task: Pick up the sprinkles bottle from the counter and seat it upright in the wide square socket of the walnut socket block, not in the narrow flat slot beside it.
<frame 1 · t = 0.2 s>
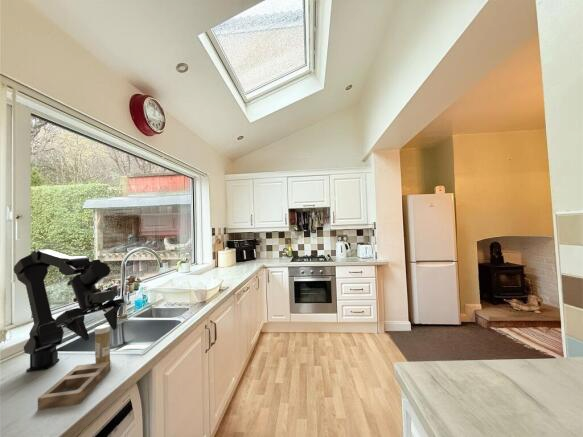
hand: (102, 334, 83), 14 cm above the countertop, tool tilted 30°, fingers open, 9 cm apart
socket block: (78, 387, 79), on the countertop
sprinkles bottle: (102, 364, 92), on the countertop
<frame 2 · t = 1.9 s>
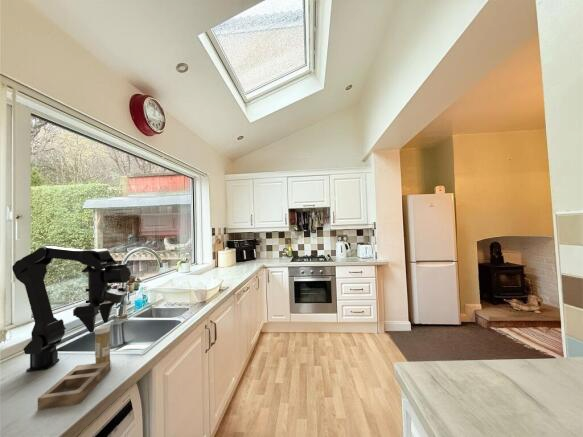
hand: (99, 327, 92), 13 cm above the countertop, tool pointing down, fingers open, 9 cm apart
nothing on the countertop moved.
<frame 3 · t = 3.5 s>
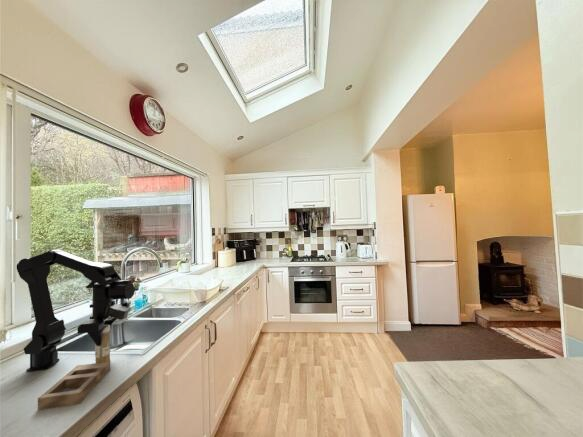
hand: (102, 342, 92), 8 cm above the countertop, tool pointing down, fingers closed on sprinkles bottle, 4 cm apart
sprinkles bottle: (102, 364, 92), on the countertop, touching gripper
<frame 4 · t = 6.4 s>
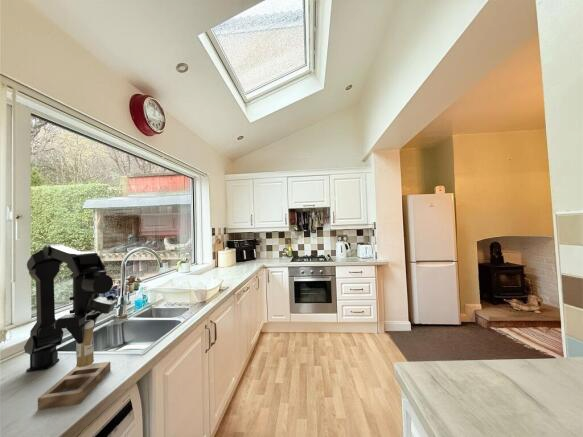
hand: (84, 340, 82), 13 cm above the countertop, tool pointing down, fingers closed on sprinkles bottle, 4 cm apart
sprinkles bottle: (85, 364, 82), point 5 cm above the countertop, touching gripper
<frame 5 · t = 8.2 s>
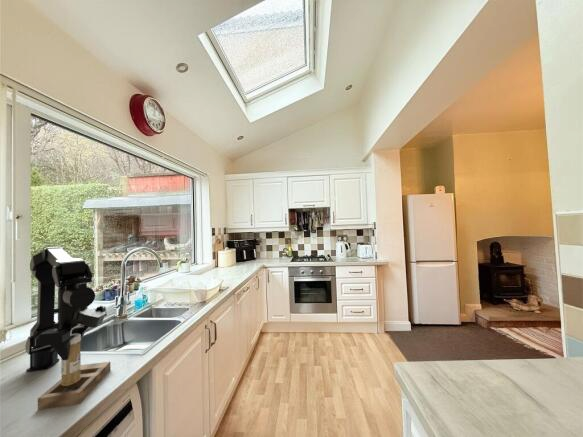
hand: (70, 355, 76), 11 cm above the countertop, tool pointing down, fingers closed on sprinkles bottle, 4 cm apart
sprinkles bottle: (71, 382, 75), point 4 cm above the countertop, touching gripper
when the fingers open (9 cm above the countertop, at t = 9.4 s): sprinkles bottle drops 1 cm, resting in socket block.
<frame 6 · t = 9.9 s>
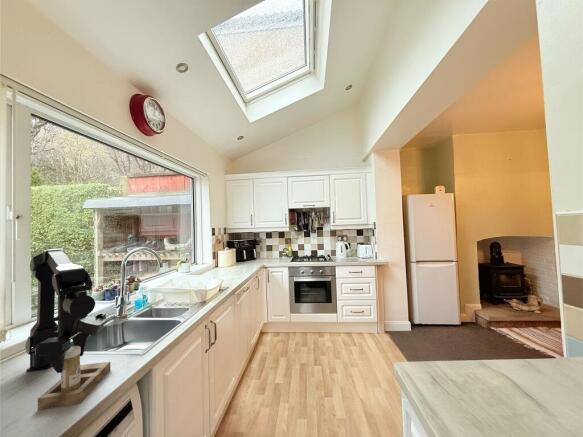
hand: (70, 363, 75), 9 cm above the countertop, tool pointing down, fingers open, 9 cm apart
sprinkles bottle: (70, 395, 75), resting in socket block
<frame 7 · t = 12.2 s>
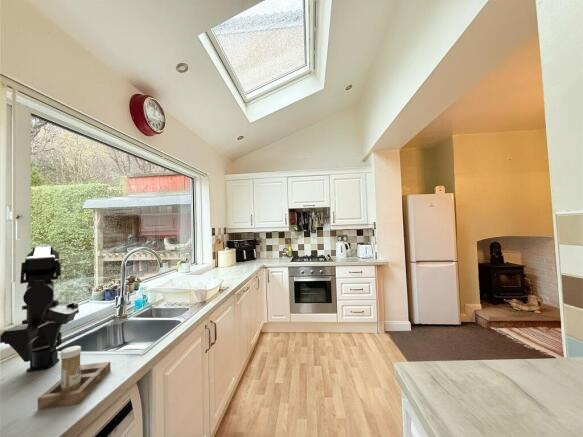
hand: (40, 353, 74), 13 cm above the countertop, tool pointing down, fingers open, 9 cm apart
nothing on the countertop moved.
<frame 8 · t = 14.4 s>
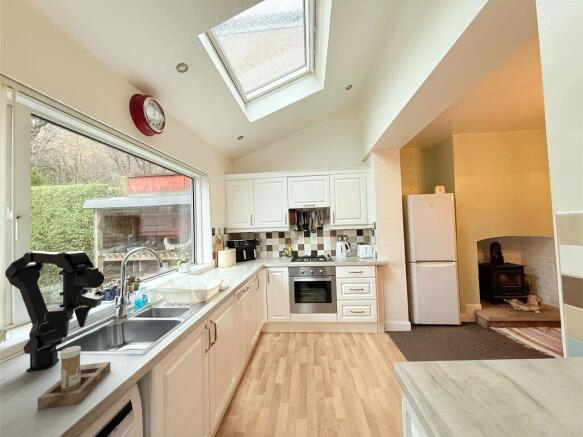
hand: (73, 332, 89), 13 cm above the countertop, tool pointing down, fingers open, 9 cm apart
nothing on the countertop moved.
at the end: sprinkles bottle 0.1 cm from the target spot on the socket block, point 0.0 cm above the socket block's base; sprinkles bottle tilted 0°; the gripper is holding nothing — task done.
